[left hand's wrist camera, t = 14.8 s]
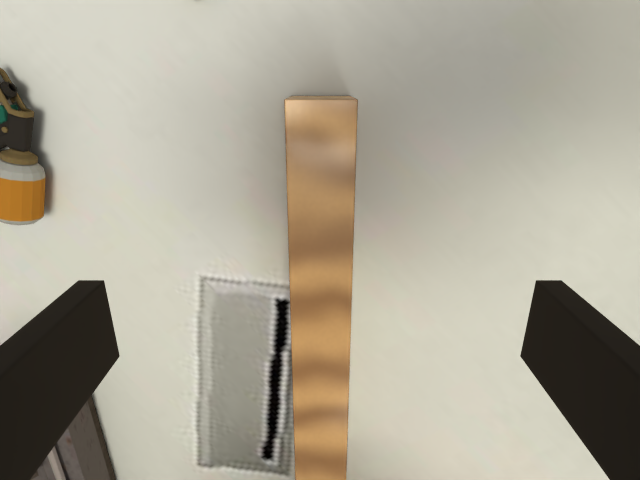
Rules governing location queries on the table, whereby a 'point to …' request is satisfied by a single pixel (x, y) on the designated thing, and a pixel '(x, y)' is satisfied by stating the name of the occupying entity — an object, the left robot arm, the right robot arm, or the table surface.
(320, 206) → the bar
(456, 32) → the table surface
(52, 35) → the table surface
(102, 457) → the toy
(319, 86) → the table surface
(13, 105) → the spray gun
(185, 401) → the table surface
